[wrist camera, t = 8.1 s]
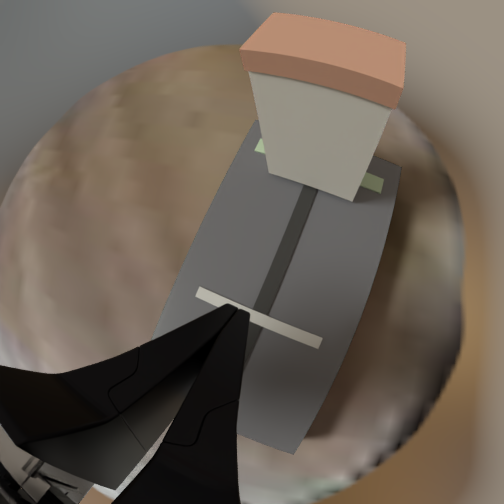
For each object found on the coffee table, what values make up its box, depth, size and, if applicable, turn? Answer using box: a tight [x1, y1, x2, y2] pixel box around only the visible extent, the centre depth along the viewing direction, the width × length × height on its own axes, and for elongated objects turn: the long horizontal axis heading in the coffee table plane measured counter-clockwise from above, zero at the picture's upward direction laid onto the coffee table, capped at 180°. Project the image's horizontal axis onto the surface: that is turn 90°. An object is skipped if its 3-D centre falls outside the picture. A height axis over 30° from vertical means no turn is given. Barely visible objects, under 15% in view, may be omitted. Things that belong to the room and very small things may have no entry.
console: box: [151, 120, 402, 455], centre depth 15 cm, size 18×10×2 cm, turn 157°
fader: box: [239, 13, 406, 201], centre depth 11 cm, size 3×5×9 cm, turn 67°
